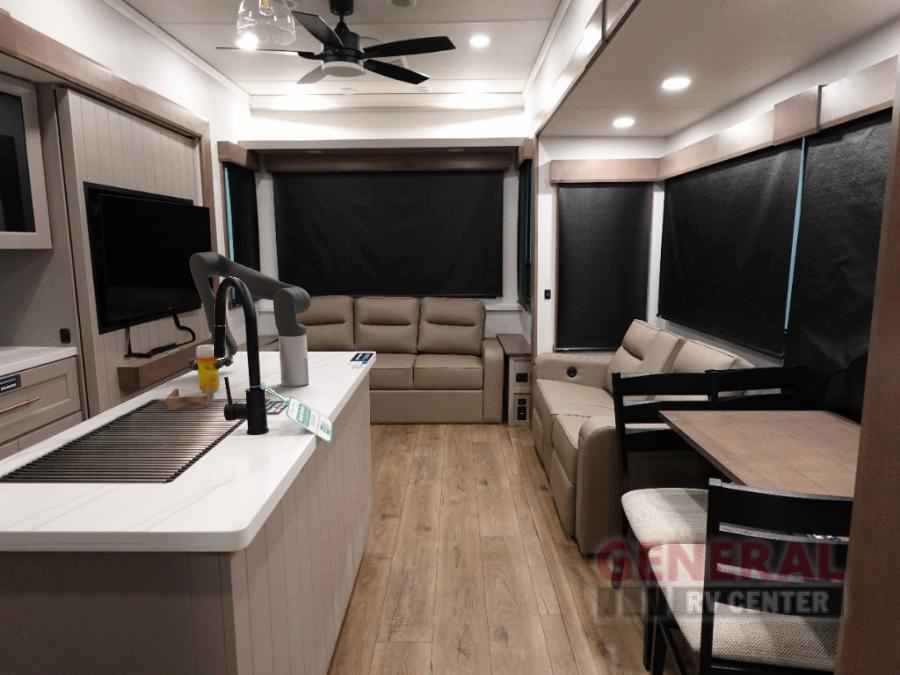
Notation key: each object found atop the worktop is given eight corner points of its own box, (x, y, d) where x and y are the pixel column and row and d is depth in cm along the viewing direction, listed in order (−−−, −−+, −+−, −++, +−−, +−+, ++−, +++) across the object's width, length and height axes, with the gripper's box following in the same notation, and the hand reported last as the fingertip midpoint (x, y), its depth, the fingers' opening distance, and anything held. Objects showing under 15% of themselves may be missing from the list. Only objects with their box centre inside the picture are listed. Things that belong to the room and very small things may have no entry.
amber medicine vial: (214, 393, 177) (210, 347, 174) (196, 393, 177) (191, 347, 174) (223, 388, 183) (219, 344, 180) (204, 388, 183) (200, 344, 180)
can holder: (213, 397, 173) (212, 386, 173) (207, 407, 163) (206, 395, 162) (175, 400, 171) (174, 388, 170) (167, 410, 160) (165, 398, 159)
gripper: (191, 347, 190) (180, 357, 173) (236, 344, 193) (229, 354, 177) (193, 368, 191) (183, 380, 175) (237, 365, 194) (231, 376, 178)
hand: (206, 367), depth 176 cm, fingers closed on amber medicine vial, 6 cm apart
